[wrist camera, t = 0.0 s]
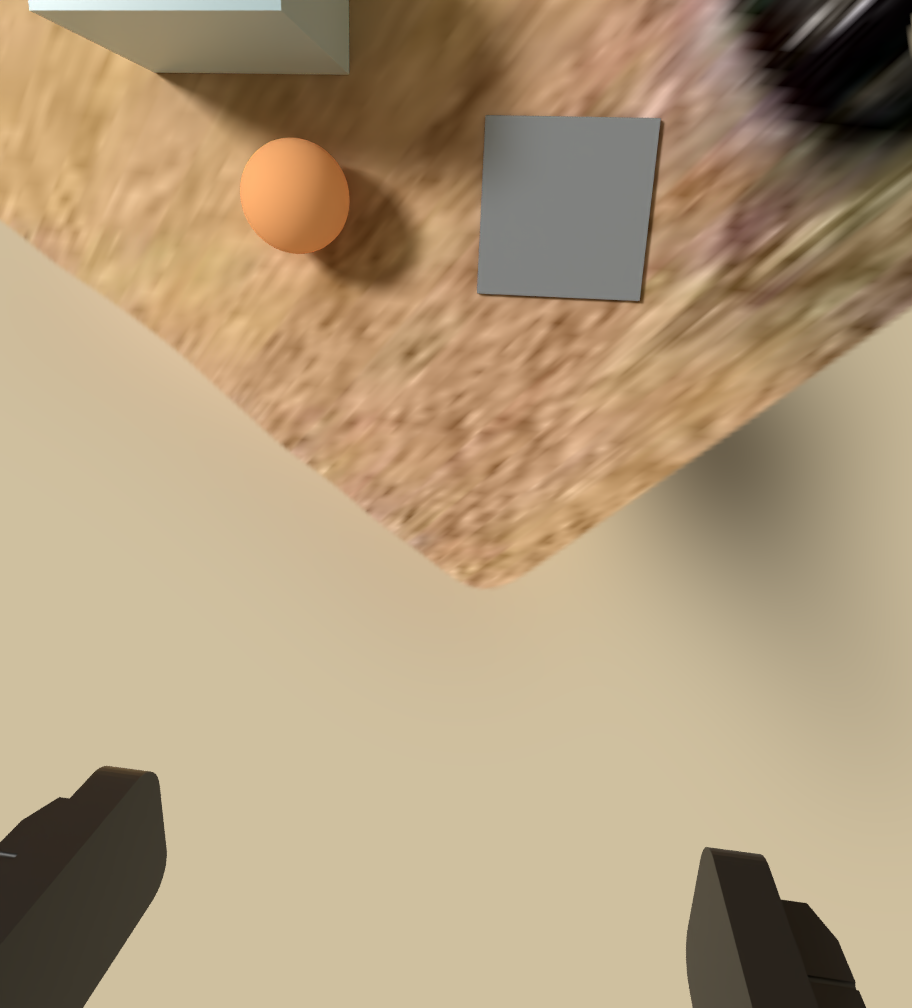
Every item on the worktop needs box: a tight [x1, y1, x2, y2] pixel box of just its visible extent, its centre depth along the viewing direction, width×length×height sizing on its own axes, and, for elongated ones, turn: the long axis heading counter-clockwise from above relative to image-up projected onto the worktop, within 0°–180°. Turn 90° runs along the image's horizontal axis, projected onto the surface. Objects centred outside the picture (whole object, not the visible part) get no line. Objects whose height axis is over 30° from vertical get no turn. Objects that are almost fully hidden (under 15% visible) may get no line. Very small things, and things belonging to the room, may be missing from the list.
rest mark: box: [477, 115, 661, 301], centre depth 34 cm, size 8×8×1 cm
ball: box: [240, 137, 350, 254], centre depth 34 cm, size 5×5×5 cm
